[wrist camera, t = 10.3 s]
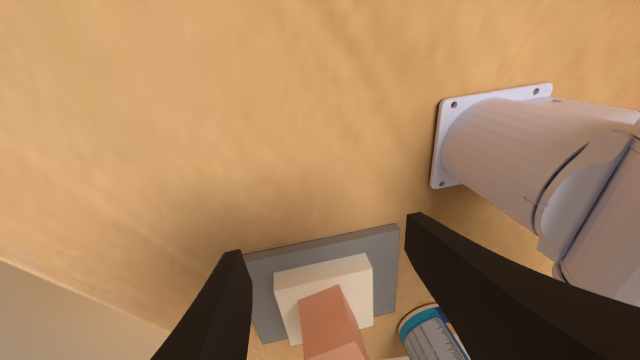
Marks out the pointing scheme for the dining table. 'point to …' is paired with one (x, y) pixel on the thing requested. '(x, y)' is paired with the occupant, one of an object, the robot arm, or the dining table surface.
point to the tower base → (322, 252)
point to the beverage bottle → (430, 335)
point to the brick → (330, 327)
